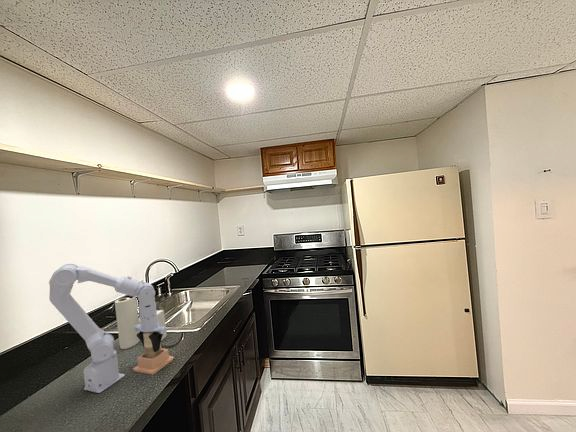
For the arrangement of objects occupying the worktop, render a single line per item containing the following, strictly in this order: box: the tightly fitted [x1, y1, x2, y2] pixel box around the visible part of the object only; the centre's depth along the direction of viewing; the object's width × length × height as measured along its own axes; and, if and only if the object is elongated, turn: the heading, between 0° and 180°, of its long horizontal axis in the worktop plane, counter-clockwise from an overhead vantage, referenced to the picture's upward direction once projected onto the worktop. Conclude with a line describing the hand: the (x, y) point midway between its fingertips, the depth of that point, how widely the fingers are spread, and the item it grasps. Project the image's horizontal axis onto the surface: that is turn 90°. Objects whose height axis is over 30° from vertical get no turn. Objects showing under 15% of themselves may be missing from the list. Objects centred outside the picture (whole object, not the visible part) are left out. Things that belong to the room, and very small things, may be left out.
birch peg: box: [143, 332, 163, 359], centre depth 103 cm, size 4×4×10 cm
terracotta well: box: [132, 347, 175, 376], centre depth 103 cm, size 10×10×4 cm
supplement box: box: [157, 309, 168, 342], centre depth 124 cm, size 7×7×13 cm
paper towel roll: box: [114, 296, 141, 350], centre depth 120 cm, size 7×6×21 cm
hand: (152, 349), depth 102 cm, fingers closed on birch peg, 4 cm apart
